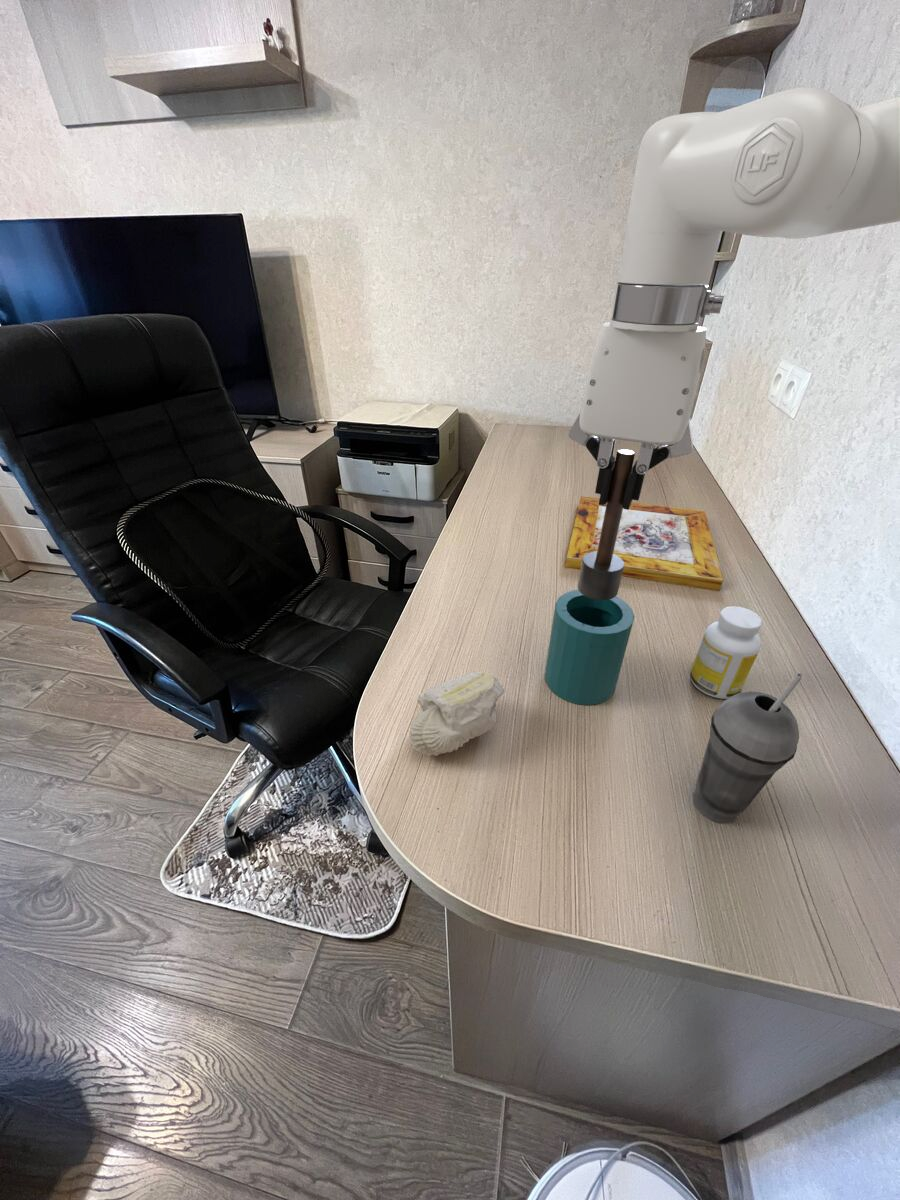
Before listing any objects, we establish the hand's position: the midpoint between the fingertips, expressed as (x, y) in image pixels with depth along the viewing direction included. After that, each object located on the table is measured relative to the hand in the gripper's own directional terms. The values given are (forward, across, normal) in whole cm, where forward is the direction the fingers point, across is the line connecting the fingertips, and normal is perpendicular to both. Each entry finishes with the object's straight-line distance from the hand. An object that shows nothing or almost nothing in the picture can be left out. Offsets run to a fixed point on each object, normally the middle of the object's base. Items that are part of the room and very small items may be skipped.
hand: (615, 501), depth 55 cm
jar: (+27, 0, 0) cm, 27 cm away
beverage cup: (+27, -18, +13) cm, 35 cm away
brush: (+12, 0, 0) cm, 12 cm away
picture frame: (+27, -2, -46) cm, 53 cm away
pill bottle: (+27, -17, -7) cm, 33 cm away
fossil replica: (+27, +12, +16) cm, 33 cm away
